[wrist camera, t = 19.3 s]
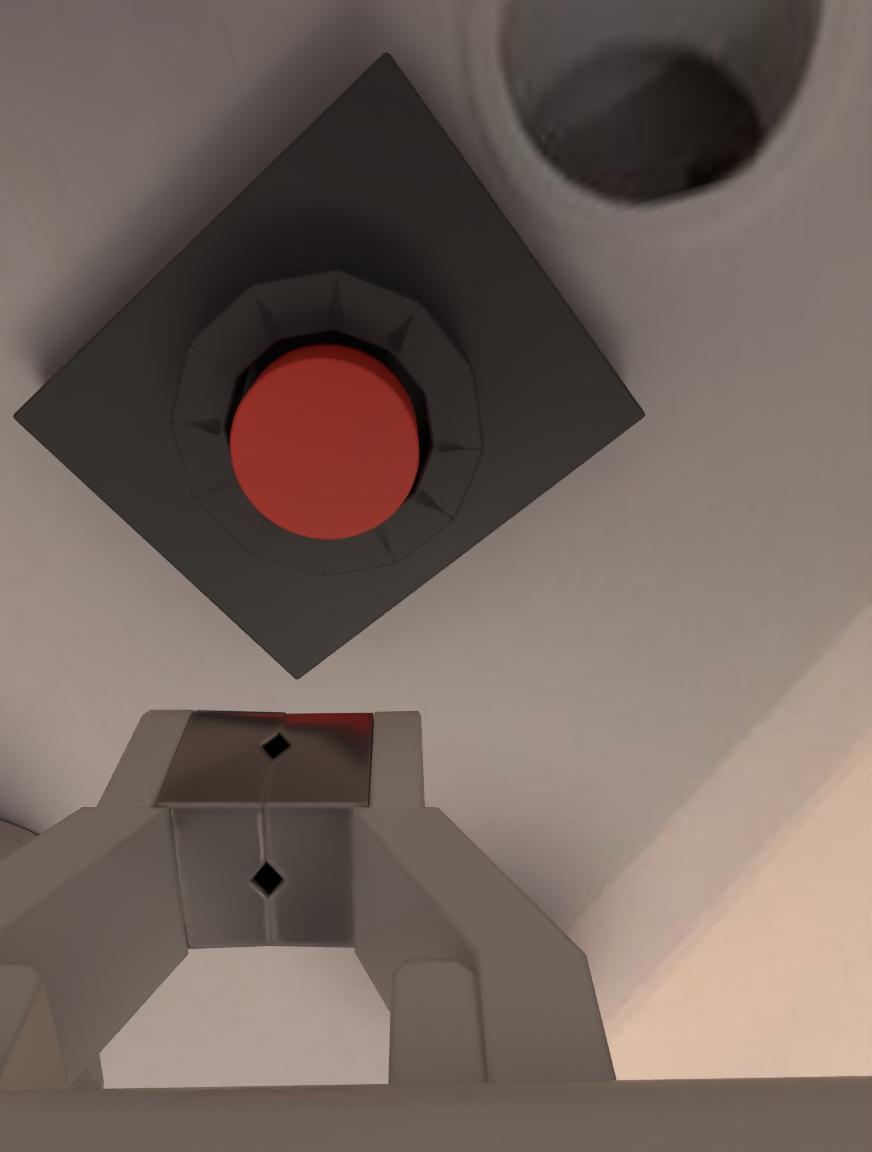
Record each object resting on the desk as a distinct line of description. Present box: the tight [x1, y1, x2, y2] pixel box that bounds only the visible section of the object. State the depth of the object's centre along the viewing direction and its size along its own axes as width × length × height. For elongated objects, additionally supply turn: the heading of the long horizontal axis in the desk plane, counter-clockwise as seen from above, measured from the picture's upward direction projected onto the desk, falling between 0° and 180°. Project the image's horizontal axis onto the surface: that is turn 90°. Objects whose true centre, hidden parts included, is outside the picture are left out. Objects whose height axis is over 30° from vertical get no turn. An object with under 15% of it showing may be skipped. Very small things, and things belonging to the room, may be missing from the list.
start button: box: [230, 343, 419, 539], centre depth 18 cm, size 4×4×2 cm
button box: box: [13, 52, 645, 679], centre depth 20 cm, size 12×10×4 cm
